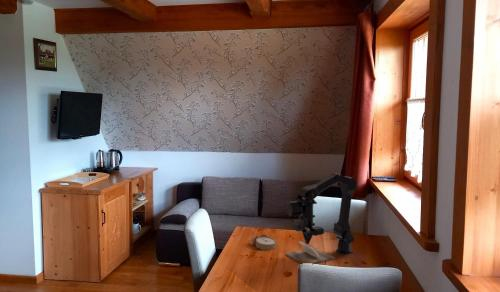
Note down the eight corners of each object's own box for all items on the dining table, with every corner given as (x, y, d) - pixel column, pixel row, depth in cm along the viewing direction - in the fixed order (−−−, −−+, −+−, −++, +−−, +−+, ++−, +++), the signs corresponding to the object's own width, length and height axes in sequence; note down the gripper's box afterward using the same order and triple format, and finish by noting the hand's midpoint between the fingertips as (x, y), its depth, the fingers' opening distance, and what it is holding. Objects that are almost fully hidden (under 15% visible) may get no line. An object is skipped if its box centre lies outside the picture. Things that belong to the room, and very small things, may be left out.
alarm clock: (265, 246, 201) (247, 234, 212) (264, 255, 202) (246, 242, 213) (281, 242, 208) (263, 230, 219) (279, 250, 209) (261, 238, 220)
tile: (300, 240, 197) (298, 242, 197) (313, 246, 189) (311, 248, 188) (307, 248, 200) (305, 250, 200) (320, 255, 192) (318, 257, 191)
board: (313, 249, 206) (313, 247, 206) (334, 259, 193) (334, 257, 193) (285, 254, 197) (285, 253, 197) (305, 266, 183) (306, 263, 183)
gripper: (282, 211, 195) (283, 241, 197) (306, 220, 179) (306, 253, 181) (300, 208, 201) (300, 237, 203) (324, 216, 185) (324, 248, 187)
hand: (307, 243), depth 193 cm, fingers closed, pressing on tile
